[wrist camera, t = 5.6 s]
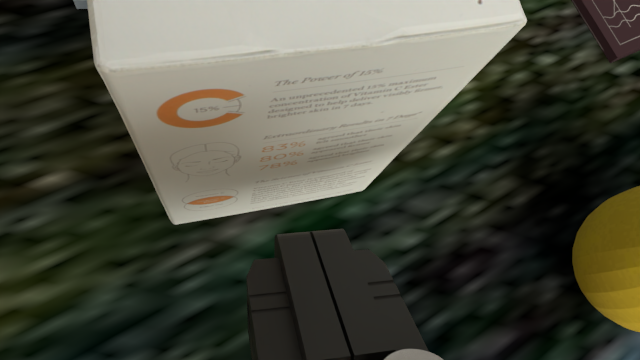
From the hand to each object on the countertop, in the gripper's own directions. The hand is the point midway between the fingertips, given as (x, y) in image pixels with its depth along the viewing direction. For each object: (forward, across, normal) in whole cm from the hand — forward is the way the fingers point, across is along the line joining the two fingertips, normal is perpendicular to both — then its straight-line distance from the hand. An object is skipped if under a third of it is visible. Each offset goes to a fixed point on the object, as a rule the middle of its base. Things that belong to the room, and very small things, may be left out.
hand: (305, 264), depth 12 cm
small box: (+11, 0, +2) cm, 12 cm away
